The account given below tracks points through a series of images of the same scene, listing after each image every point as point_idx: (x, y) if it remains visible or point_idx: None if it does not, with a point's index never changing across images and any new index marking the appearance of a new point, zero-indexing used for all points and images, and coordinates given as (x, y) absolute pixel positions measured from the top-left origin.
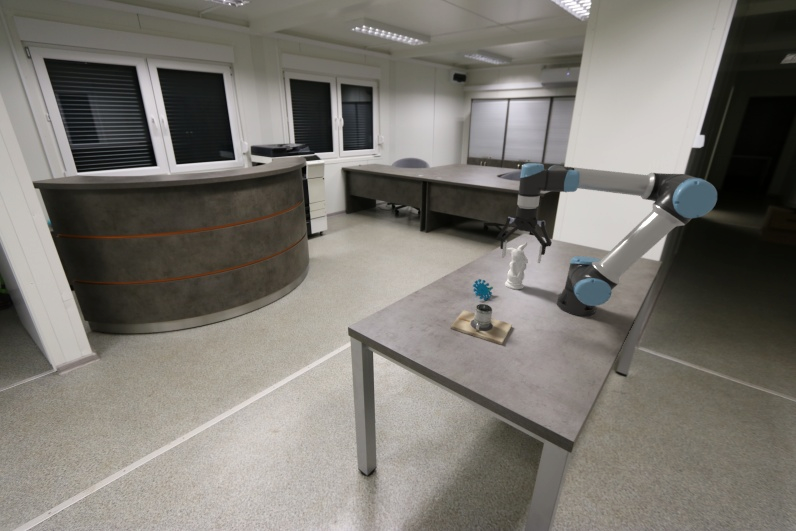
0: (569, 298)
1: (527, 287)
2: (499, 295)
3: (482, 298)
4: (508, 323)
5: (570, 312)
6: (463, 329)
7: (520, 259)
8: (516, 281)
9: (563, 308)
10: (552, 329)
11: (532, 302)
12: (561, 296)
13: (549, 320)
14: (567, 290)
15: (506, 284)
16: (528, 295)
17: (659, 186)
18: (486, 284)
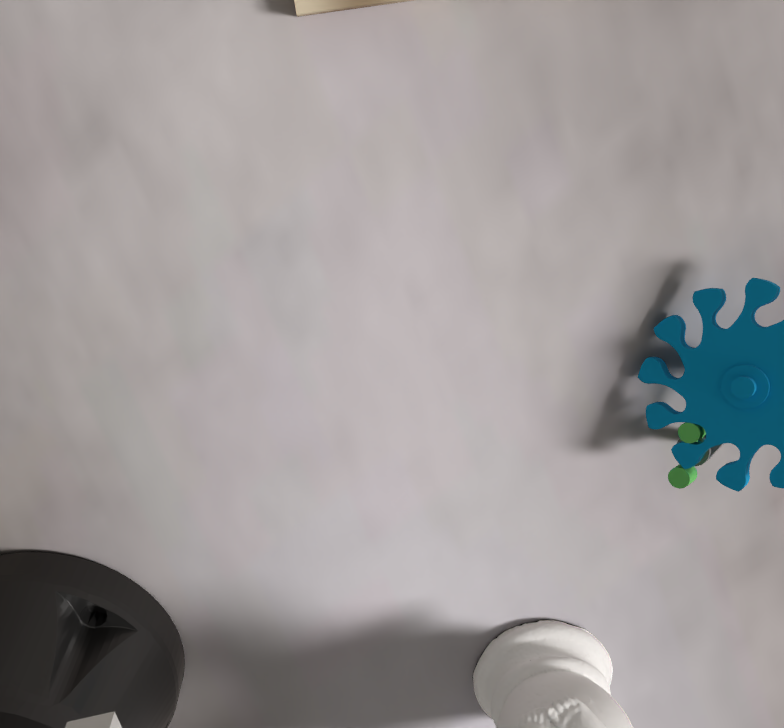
0: (30, 656)
1: (445, 705)
2: (584, 470)
3: (694, 298)
4: (328, 5)
5: (27, 557)
6: None
7: None
8: (530, 686)
9: (87, 571)
10: (9, 227)
11: (326, 530)
12: (123, 669)
13: (98, 353)
14: (53, 725)
15: (592, 641)
16: (394, 607)
17: None
18: (744, 462)
